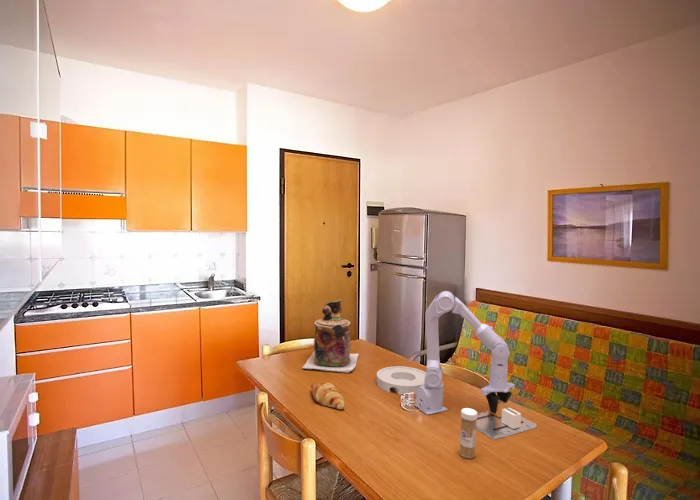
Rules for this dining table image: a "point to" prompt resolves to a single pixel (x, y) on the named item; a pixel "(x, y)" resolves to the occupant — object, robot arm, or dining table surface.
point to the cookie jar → (332, 342)
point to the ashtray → (400, 379)
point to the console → (499, 425)
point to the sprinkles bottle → (468, 432)
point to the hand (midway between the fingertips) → (496, 411)
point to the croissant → (328, 395)
